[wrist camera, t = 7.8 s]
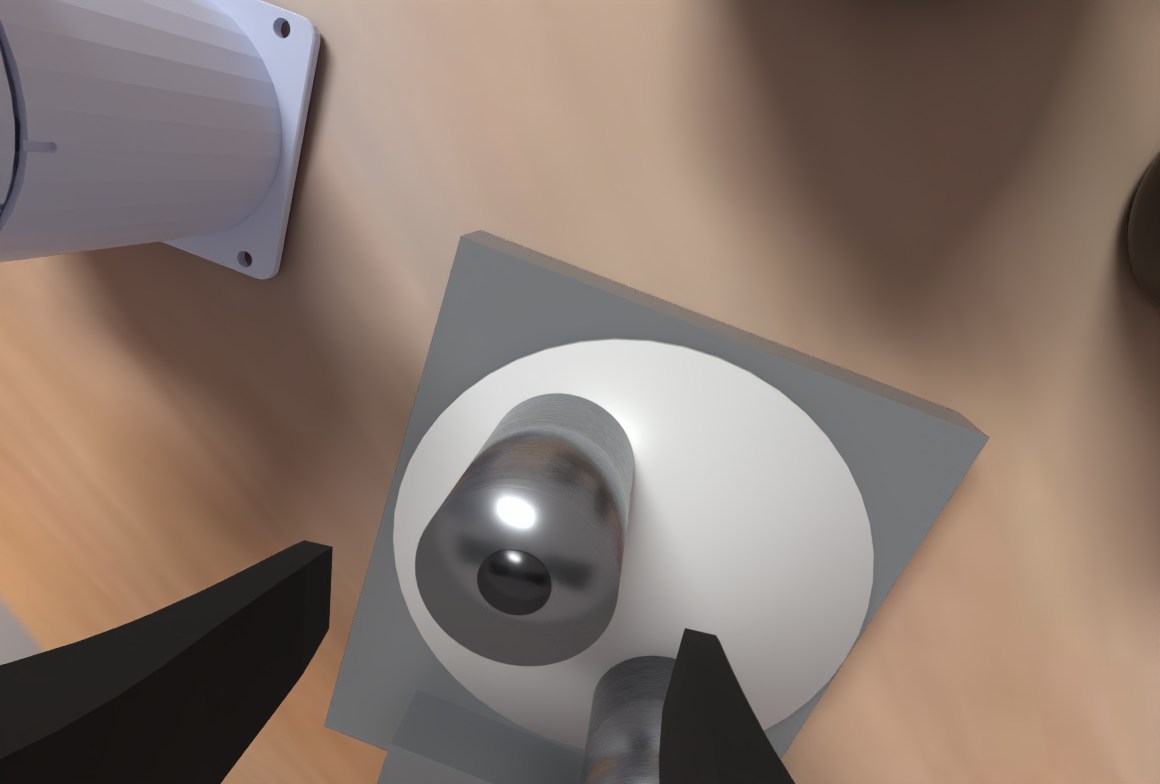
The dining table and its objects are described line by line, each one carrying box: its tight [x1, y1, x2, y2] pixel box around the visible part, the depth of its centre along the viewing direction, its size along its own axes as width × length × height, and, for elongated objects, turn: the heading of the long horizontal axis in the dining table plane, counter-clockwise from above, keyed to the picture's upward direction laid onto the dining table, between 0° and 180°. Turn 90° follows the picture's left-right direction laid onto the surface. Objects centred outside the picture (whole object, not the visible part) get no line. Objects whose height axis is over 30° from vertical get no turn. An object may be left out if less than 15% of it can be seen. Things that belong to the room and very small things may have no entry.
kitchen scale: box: [324, 230, 989, 784], centre depth 21 cm, size 16×20×5 cm
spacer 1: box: [415, 393, 634, 666], centre depth 16 cm, size 4×4×6 cm
